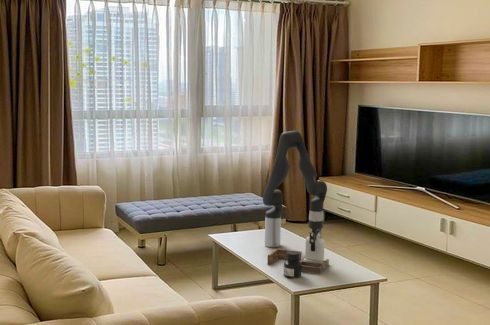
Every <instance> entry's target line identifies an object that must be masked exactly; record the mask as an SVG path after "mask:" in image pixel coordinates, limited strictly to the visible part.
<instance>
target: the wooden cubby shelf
mask: <svg viewBox="0 0 490 325" xmlns="http://www.w3.org/2000/svg"><path fill="white" fill-rule="evenodd" d="M287 251H293V250H291V249H283V248H278V247H275V249H274V250H272V251H271V252H270V253H268V254H267V265H271V264H272V263H274V262H275V261H276V260H277V259H281V260H286V252H287ZM297 251H298V250H297ZM298 252H300V260H299V261H301V260H302V251H298Z"/></svg>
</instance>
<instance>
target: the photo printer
mask: <svg viewBox="0 0 490 325" xmlns="http://www.w3.org/2000/svg"><path fill="white" fill-rule="evenodd" d="M309 241H310V236H307V237H306V239H305V252H304V254H305V256H304V257H305V258H307V259H311V260H316V261H324V259H325V242H326V241H325V239H323V238H322V237H321V238H319V237H318V238H317V241H316V244H315V251H311V244H309ZM312 242H313V240H312Z"/></svg>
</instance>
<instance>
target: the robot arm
mask: <svg viewBox="0 0 490 325" xmlns="http://www.w3.org/2000/svg"><path fill="white" fill-rule="evenodd" d="M295 148H296V150H297V151H298V155H299V156H298V157H299V158H298V168H299V171H300V172H301V173H300V174H301V175H302V176H303V178H304V183H305V187H306V191H307V192H308V194H309V195H310V196H314V197H313V198H311V200H310V202H309V213H308V228H309V229H311V231H310V232H309V237H310V241H309V244H311V251H315V244H316V241H317V238H318V237H319V238H322V229H323V228H324V202H325V199H326V196H327V192H328V185H327V183H326V182H325V181H323V180H317V181H315V179H316V178H317V177H318V174H317V171H316V169H315V167H314V165H313V163H312V161H311V159H310V157H309V154H308V151H307V147H306V145H305V141H304V139H303V136H302V134H301V133H300V132H299V130H288V131H284V132H282V133H281V134H280V136H279V140H278V145H277V151H276V155H275V159H274V162H273V165H272V168H271V172H270V176H269V179H268V182H267V184H266V187H264V188H265V189H264V191H263V194H262V203H263V205H265V206H268V207H271V208H270V209H268V210H266V211H265V218H264V222H265V223H264V246H265V247H266V248H278V247H280V246H281V239H282V238H281V236H282V235H281V231H282V230H281V228H282V213H283V201H284V199H283V198H284V195H283V192H282V190H280V189H277V187H279V186H280V185H281V184H282V183H283V182H284V181H285V180H286V178H287V177H288V174H289V171H290V168H291V167H290V162H289V160H288V157H287V154H288V151H289V149H295ZM312 240H313V242H312Z"/></svg>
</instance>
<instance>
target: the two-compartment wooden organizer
mask: <svg viewBox="0 0 490 325" xmlns="http://www.w3.org/2000/svg"><path fill="white" fill-rule="evenodd" d="M300 262H301V263H302V272H304V273H311V274H318V275H320V274H322V273H323V271H325V270H326V268H327V267H328V266H329V264H330V258H324V261H316V260H311V259H307V258H305V256H303V257H302V258H301V261H300Z"/></svg>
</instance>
